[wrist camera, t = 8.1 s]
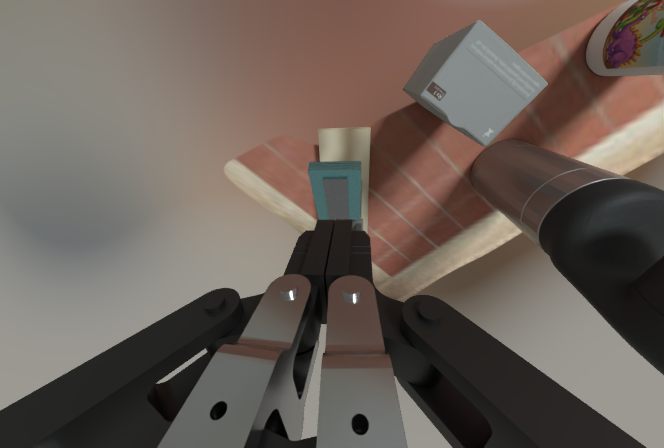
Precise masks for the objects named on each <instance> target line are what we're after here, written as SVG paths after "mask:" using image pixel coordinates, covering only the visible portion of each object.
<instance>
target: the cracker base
mask: <svg viewBox="0 0 664 448" xmlns="http://www.w3.org/2000/svg"><path fill="white" fill-rule="evenodd" d="M370 132H371V128H370V127H356V128H328V129H319V130H318V140H319V154H320V162H331V161H361V206H360V220H352V223H353V231H365V232H366V233H367V227H368V195H369V164H370Z"/></svg>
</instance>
